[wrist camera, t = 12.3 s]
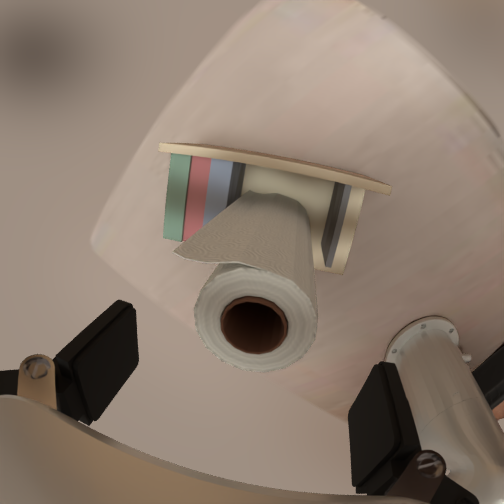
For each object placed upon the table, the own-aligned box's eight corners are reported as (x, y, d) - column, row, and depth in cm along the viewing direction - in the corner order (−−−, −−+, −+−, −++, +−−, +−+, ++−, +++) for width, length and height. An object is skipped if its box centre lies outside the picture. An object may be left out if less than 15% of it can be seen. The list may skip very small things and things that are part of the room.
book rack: (198, 143, 33) (159, 142, 24) (365, 175, 32) (392, 186, 22) (186, 237, 38) (149, 268, 28) (341, 270, 36) (353, 313, 26)
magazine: (415, 465, 36) (563, 397, 18) (406, 462, 36) (562, 391, 18) (418, 393, 50) (538, 321, 31) (411, 388, 49) (534, 312, 31)
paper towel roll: (312, 243, 34) (322, 371, 14) (261, 249, 35) (209, 376, 15) (303, 181, 32) (307, 234, 12) (249, 189, 33) (169, 253, 13)
